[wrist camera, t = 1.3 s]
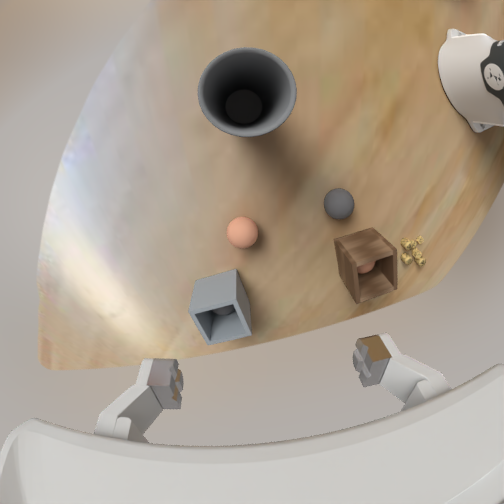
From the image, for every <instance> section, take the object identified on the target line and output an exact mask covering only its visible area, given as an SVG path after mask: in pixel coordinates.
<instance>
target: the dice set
mask: <svg viewBox="0 0 504 504" xmlns="http://www.w3.org/2000/svg"><path fill="white" fill-rule="evenodd" d="M416 241H417V242H418V243H419V244H421V243H422V242H423V241H424V240H423V238H422V237H421V236H418V238H417V239H416ZM401 245H402V246H403V247H404V248H405V249H407V250H410V249H411V248H412V247H413V248H415V246H416V245H417V243H416V242H415V241H413V240H411V241H409V240H408V239H407V238H403V239H402V241H401ZM421 254H422V253H421V252H420V251H418V249H417V248H415V249H412V255H413V256H414V257H415V262H416V263H417V264H418V265H419V266H423V265H425V263H426V260H425V259H424V258H423V257H422V256H421ZM401 260H402V261H403V262H404V263H405V264H406V265H409V264H411V262H412V257H411V256H410V255H408V254H407V253H403V254H402V255H401Z"/></svg>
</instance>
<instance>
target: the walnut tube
mask: <svg viewBox="0 0 504 504" xmlns="http://www.w3.org/2000/svg"><path fill="white" fill-rule="evenodd" d="M334 244H335V250H336V255H337V261H338V267H339V274H340V277H341V279H342V280H343V282H344V284H345V285H346V287H347V289H348V290H349V292H350V294H351V295H352V297H353V299H354V301H355V302H356V304H358V303H361V302H364V301H366V300H369V299H372V298H375V297H377V296H380V295H383V294H385V293H388V292H391V291H393V290H396V289H397V249H396V248H395V247H394V246H393V245H392V244H391V243H389V242H388V241H387V240H386V239H385V238H384V237H383V236H382V235H381V234H380V233H378V232H377V231H376V230H375V229H374V228H369V229H366V230H363V231H360V232H357V233H353V234H350V235H347V236H344V237H340V238H337V239H334ZM373 261H376V262H375V265H374V267H373V269H372V270H371V271H369V272H367V273H363V274H361V273H358V271H357V267H358V266H361V265H364V264H367V263H370V262H373Z"/></svg>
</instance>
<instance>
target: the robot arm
mask: <svg viewBox="0 0 504 504" xmlns="http://www.w3.org/2000/svg"><path fill="white" fill-rule="evenodd" d="M438 68H439V74H440V78H441V82H442V85H443V87H444V90H445V92H446V94H447V96H448V98H449V100H450V101H451V103H452V105H453V106H454V107H455V108H456V110H457V111H458V112H459V113H460V114H461V115H463V116H464V117H465V118H466V119H467V121H468V122H469V124H470V126H471V128H472V129H473V131H474V132H479V133H480V132H482V131H484V130H486V129H488V128H490V127H492V126H494V125H496V126H503V127H504V40H501V41H496V40H493V39H492V38H491V37H490V36H487V35H486V34H483V33H481V34H470V35H466V34H464V33H462V32H460V31H458V30H456V29H449V30H448V33H447V40H446V42H445V43H444V44H443V45H442V47H441V49H440V51H439V56H438ZM356 347H357V349H356V350H355V351H354V353H353V364H354V367H355V369H356V371H358V372H360V375H359V378H360V380H361V383H362V385H363V387H367V386H371V385H375V384H379V383H380V385H381V386H382V387H384V388H385V389H386V390H388V391H389V392H390V393H392V394H393V395H394V396H396V397H397V398H399V399H400V400H401V401H403V402H404V403H405V405H404V407H403V408H402V410H401V411H400V412H398V413H395V414H393V415H390V416H387V417H384V418H381V419H378V420H374V421H371V422H368V423H365V424H361V425H357V426H354V427H350V428H346V429H342V430H338V431H334V432H329V433H325V434H320V435H315V436H310V437H305V438H299V439H292V440H285V441H278V442H270V443H260V444H248V445H234V446H233V445H232V446H180V445H164V444H153V443H149V442H148V441H147V439H146V438H145V437H144V436H143V434H144V433H145V431H146V430H147V429H148V427H149V426H150V425H151V424H152V423H153V422H154V420H155V419H156V418H157V416H158V415H159V414H160V413H161V412H162V410H163V409H180V408H181V400H182V397H181V394H180V392H181V391H182V390H183V376H182V372H181V370H179V369H178V362H177V359H156V358H155V359H151V358H144V360H143V361H142V364H141V367H140V371H139V374H138V378H137V381H136V385H132V386H131V387H130V388H129V389H127V390H126V391H125V392H124V393H123V394H122V395H121V396H119V397H118V398H117V399H116V400H115V401H114V402H112V403H111V404H110V405H109V406H108V407H107V408H106V409H104V410H103V411H102V412H101V413H100V415H99V419H98V422H97V425H96V429H95V432H94V434H90V433H86V432H82V431H78V430H74V429H70V428H66V427H63V426H59V425H56V424H53V423H49V422H47V421H44V420H41V419H38V418H32V419H29V420H27V421H26V422H24V423H23V424H21V425H20V426H18V427H17V428H15V429H14V430H13V431H12V432H11V433H10V434H9V436H8V437H7V439H6V441H5V443H4V445H3V447H2V450H1V452H0V504H504V364H496V365H494V366H493V367H491V368H489V369H488V370H486V371H485V372H483V373H481V374H479V375H478V376H476V377H474V378H473V379H471V380H469V381H467V382H465V383H463V384H462V385H460V386H458V387H456V388H454V389H452V388H451V387H450V385H449V384H448V382H447V381H446V379H445V378H444V376H443V375H442V373H441V372H439V371H437V370H435V369H433V368H431V367H429V366H427V365H425V364H423V363H421V362H419V361H417V360H415V359H413V358H411V357H409V356H407V355H405V354H403V355H402V354H401V352H400V351H399V349H398V348H397V346H396V345H395V343H394V342H393V340H392V339H391V337H390V336H389V334H388V333H382V334H378V335H374V336H369V337H365V338H360V339H358V340H357V342H356Z"/></svg>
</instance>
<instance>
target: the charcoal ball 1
mask: <svg viewBox="0 0 504 504" xmlns="http://www.w3.org/2000/svg"><path fill="white" fill-rule="evenodd" d="M234 308H235V307H234V305H233V304H231V305H228V306H224V307H220V308H216V309H212V311H213V312H214V313H216V314H218V315H227V314H229V313H231V312H232V311H233V310H234Z"/></svg>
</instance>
